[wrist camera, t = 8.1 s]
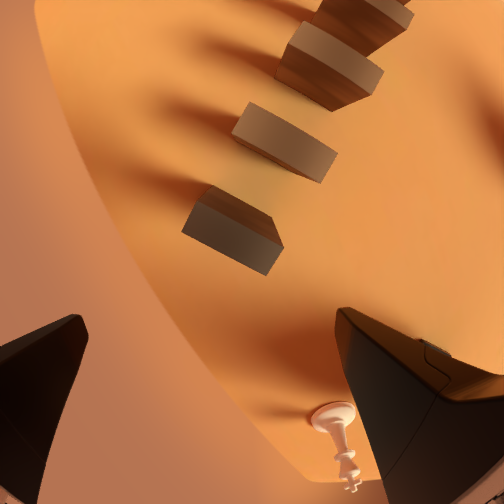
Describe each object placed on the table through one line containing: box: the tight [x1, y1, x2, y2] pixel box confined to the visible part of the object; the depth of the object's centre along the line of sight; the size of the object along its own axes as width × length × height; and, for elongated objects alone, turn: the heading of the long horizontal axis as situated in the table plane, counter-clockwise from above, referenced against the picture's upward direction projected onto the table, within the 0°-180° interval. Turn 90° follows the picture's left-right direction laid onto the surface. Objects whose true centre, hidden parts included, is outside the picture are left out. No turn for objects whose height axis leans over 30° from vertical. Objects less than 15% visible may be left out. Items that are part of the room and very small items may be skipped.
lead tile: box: [181, 185, 284, 276], centre depth 16 cm, size 4×2×6 cm, turn 60°
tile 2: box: [231, 102, 338, 184], centre depth 14 cm, size 4×2×6 cm, turn 61°
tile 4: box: [310, 0, 414, 57], centre depth 12 cm, size 4×2×6 cm, turn 61°
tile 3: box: [274, 21, 384, 112], centre depth 13 cm, size 4×2×6 cm, turn 61°
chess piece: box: [311, 402, 362, 492], centre depth 21 cm, size 5×5×10 cm
